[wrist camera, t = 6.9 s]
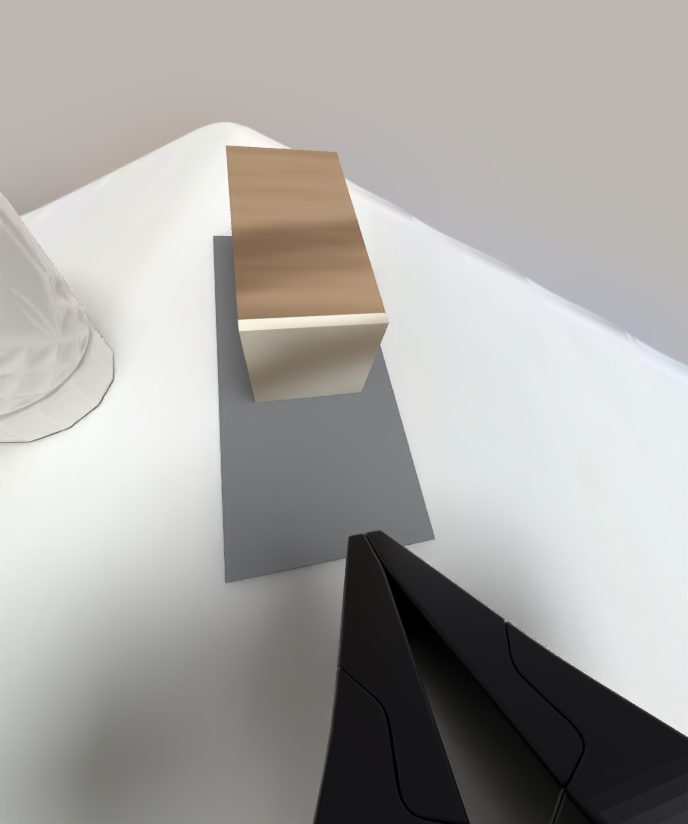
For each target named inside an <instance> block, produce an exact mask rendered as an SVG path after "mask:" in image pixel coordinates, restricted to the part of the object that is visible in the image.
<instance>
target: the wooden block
mask: <svg viewBox="0 0 688 824" xmlns="http://www.w3.org/2000/svg"><path fill="white" fill-rule="evenodd" d="M226 154H227V168H228V182H229V197H230V211H231V226H232V240H233V255H234V269H235V283H236V298H237V312H238V327H239V334H240V338H241V343H242V347H243V351H244V356H245V360H246V364H247V369H248V373H249V377H250V381H251V386H252V390H253V394H254V399H255V403H258V402H268V401H277V400H287V399H297V398H307V397H317V396H327V395H337V394H347V393H357V392H361V391H362V389H363V386H364V384H365V381H366V379H367V376H368V374H369V371H370V369H371V366H372V364H373V361H374V359H375V356H376V354H377V351H378V349H379V346H380V344H381V341H382V339H383V336H384V333H385V331H386V328H387V326H388V323H389V322H388V319H387V316H386V312H385V309H384V306H383V303H382V299H381V296H380V293H379V290H378V286H377V283H376V280H375V276H374V273H373V270H372V267H371V263H370V260H369V257H368V254H367V250H366V247H365V244H364V241H363V237H362V234H361V231H360V227H359V224H358V221H357V218H356V214H355V211H354V208H353V205H352V201H351V198H350V195H349V191H348V188H347V185H346V182H345V178H344V176H343V172H342V169H341V166H340V162H339V159H338V156H337V152H325V151H308V150H292V149H275V148H258V147H242V146H226Z"/></svg>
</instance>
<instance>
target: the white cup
mask: <svg viewBox="0 0 688 824" xmlns="http://www.w3.org/2000/svg"><path fill="white" fill-rule="evenodd" d="M112 380H113V352H112V351H111V349H110V348H109V347H108V345H107V344H106V343H105V341H104V340H103V339H102V337H101V336H100V335H99V333H98V332H97V331H96V329H95V328H94V327H93V325H92V324H91V322H90V321H89V319H88V317H87V316H86V314H85V313H84V311H83V309H82V306H81V303H80V302H79V300H78V299H77V298H76V296H75V295H74V294H73V292H72V291H71V289H70V287H69V286H68V284H67V283H66V281H65V280H64V278H63V276H62V275H61V273H60V272H59V271H58V269H57V268H56V267H55V265H54V264H53V263H52V261H51V260H50V258H49V257H48V256H47V254H46V253H45V252H44V250H43V249H42V247H41V246H40V245H39V243H38V242H37V241H36V239H35V238H34V236H33V235H32V234H31V232H30V231H29V230H28V228H27V227H26V225H25V224H24V222H23V221H22V220H21V218H20V217H19V215H18V214H17V213H16V211H15V210H14V209H13V207H12V206H11V204H10V203H9V202H8V200H7V199H6V198H5V197H4V195H3V194H2V192H1V191H0V442H30V441H33V440H36V439H39V438H42V437H44V436H47V435H50V434H53V433H55V432H58V431H61V430H64V429H67V428H69V427H70V426H72V425H73V424H74V423H76V422H77V421H78V420H79V419H81V418H82V417H83V416H85V415H86V414H87V413H88V412H90V411H91V410H92V409H93V408H95V407H96V406H97V405H98V404H99V403H100V401H101V399H102V397H103V395H104V394H105V392H106V390H107V388H108V387H109V385H110V383H111V381H112Z"/></svg>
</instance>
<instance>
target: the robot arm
mask: <svg viewBox="0 0 688 824" xmlns="http://www.w3.org/2000/svg"><path fill="white" fill-rule="evenodd" d="M313 824H688V737H687V736H685V735H684V734H682V733H680V732H679V731H677V730H675V729H674V728H672V727H671V726H669V725H667V724H666V723H664V722H662V721H661V720H659V719H658V718H656V717H654V716H653V715H651V714H649V713H648V712H646V711H645V710H643V709H641V708H640V707H638V706H636V705H635V704H633V703H632V702H630V701H628V700H627V699H625V698H623V697H622V696H620V695H619V694H617V693H615V692H614V691H612V690H610V689H609V688H607V687H606V686H604V685H602V684H601V683H599V682H597V681H596V680H594V679H593V678H591V677H589V676H588V675H586V674H585V673H583V672H582V671H580V670H578V669H577V668H575V667H574V666H572V665H571V664H569V663H567V662H566V661H564V660H563V659H561V658H560V657H558V656H557V655H555V654H554V653H552V652H551V651H549V650H548V649H546V648H545V647H543V646H542V645H541V644H539V643H538V642H536V641H535V640H533V639H532V638H530V637H529V636H528V635H526V634H525V633H523V632H522V631H521V630H519V629H518V628H516V627H515V626H514V625H512V624H511V623H509V622H505V620H504V619H503V618H502V617H501V616H499V615H498V614H497V613H495V612H494V611H493V610H491V609H490V608H488V607H487V606H486V605H484V604H483V603H481V602H480V601H479V600H477V599H476V598H474V597H473V596H472V595H470V594H469V593H468V592H466V591H465V590H463V589H462V588H461V587H459V586H458V585H456V584H455V583H454V582H452V581H451V580H449V579H448V578H447V577H445V576H444V575H443V574H441V573H440V572H438V571H437V570H436V569H434V568H433V567H431V566H430V565H429V564H427V563H426V562H425V561H423V560H422V559H420V558H419V557H418V556H416V555H415V554H413V553H412V552H411V551H409V550H408V549H406V548H405V547H404V546H402V545H401V544H400V543H398V542H397V541H395V540H394V539H393V538H391V537H390V536H388V535H387V534H386V533H384V532H383V531H381V530H376V531H371V532H367V533H366V534H363V533H361V534H356V535H351V536H349V537H348V545H347V556H346V568H345V580H344V592H343V603H342V615H341V627H340V638H339V650H338V662H337V672H336V683H335V694H334V703H333V711H332V720H331V729H330V735H329V740H328V746H327V752H326V758H325V763H324V769H323V775H322V780H321V785H320V790H319V795H318V800H317V805H316V810H315V815H314V820H313Z"/></svg>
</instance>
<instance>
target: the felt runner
mask: <svg viewBox="0 0 688 824" xmlns="http://www.w3.org/2000/svg"><path fill="white" fill-rule="evenodd" d="M213 241H214V270H215V299H216V327H217V356H218V385H219V413H220V442H221V471H222V500H223V528H224V557H225V583H228V582H232V581H237V580H242V579H247V578H251V577H256V576H261V575H266V574H271V573H275V572H280V571H285V570H290V569H294V568H299V567H304V566H309V565H313V564H318V563H323V562H328V561H333V560H337V559H342V558H346V556H347V545H348V537H349V536H351V535H356V534H361V533H363V534H366V533H367V532H371V531H376V530H381V531H383V532H384V533H386V534H387V535H388V536H390V537H391V538H393V539H394V540H395V541H397V542H398V543H400V544H401V545H402V546H404V545H409V544H414V543H418V542H423V541H428V540H433V539H435V537H434V534H433V530H432V527H431V523H430V520H429V516H428V513H427V509H426V506H425V502H424V498H423V495H422V491H421V488H420V484H419V481H418V477H417V474H416V470H415V467H414V463H413V460H412V456H411V452H410V449H409V445H408V442H407V438H406V435H405V431H404V428H403V424H402V421H401V417H400V414H399V410H398V406H397V403H396V399H395V396H394V392H393V389H392V385H391V382H390V378H389V375H388V371H387V368H386V364H385V360H384V357H383V353H382V350H381V346H379V349H378V351H377V354H376V356H375V359H374V361H373V364H372V366H371V369H370V371H369V374H368V376H367V379H366V381H365V384H364V386H363V389H362V391H361V392H357V393H347V394H337V395H327V396H317V397H307V398H297V399H287V400H277V401H268V402H258V403H255V399H254V394H253V390H252V386H251V381H250V377H249V373H248V369H247V364H246V360H245V356H244V351H243V347H242V343H241V338H240V334H239V327H238V312H237V298H236V283H235V269H234V255H233V240H232V236H213Z"/></svg>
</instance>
